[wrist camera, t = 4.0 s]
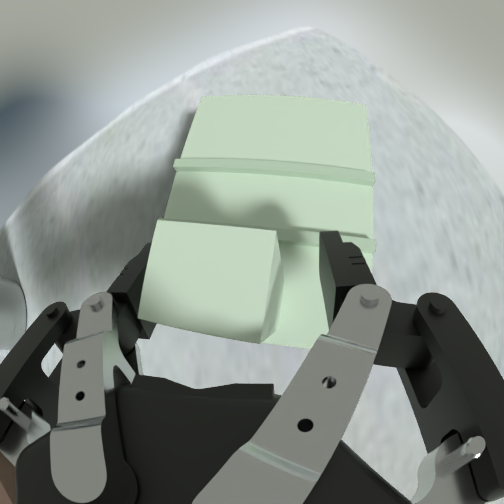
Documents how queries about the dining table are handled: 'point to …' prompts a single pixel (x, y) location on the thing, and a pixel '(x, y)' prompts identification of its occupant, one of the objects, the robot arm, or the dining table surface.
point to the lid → (259, 217)
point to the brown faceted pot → (7, 481)
